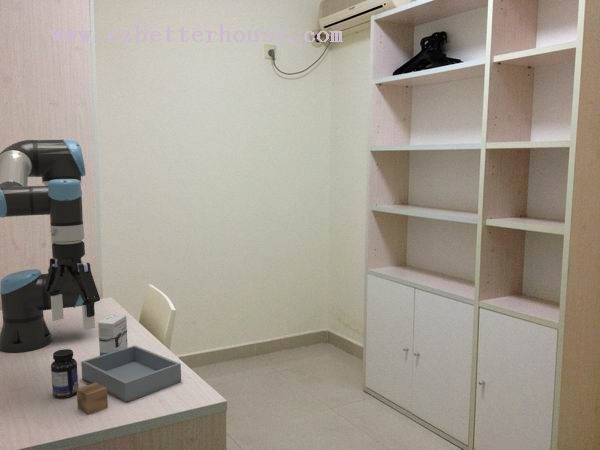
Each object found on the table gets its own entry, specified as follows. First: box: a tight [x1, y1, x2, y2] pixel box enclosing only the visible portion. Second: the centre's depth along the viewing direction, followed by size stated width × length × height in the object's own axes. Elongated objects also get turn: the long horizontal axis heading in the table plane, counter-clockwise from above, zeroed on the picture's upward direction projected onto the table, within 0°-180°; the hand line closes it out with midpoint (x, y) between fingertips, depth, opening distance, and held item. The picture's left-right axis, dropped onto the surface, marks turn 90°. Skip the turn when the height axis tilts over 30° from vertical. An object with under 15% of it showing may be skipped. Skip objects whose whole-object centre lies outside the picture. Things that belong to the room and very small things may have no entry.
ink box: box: [97, 314, 129, 356], centre depth 168 cm, size 8×5×12 cm, turn 168°
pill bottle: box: [50, 348, 79, 399], centre depth 143 cm, size 6×6×11 cm
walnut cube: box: [76, 383, 109, 415], centre depth 136 cm, size 5×5×5 cm
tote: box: [81, 344, 182, 404], centre depth 151 cm, size 22×17×5 cm
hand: (73, 324), depth 143 cm, fingers open, 13 cm apart
